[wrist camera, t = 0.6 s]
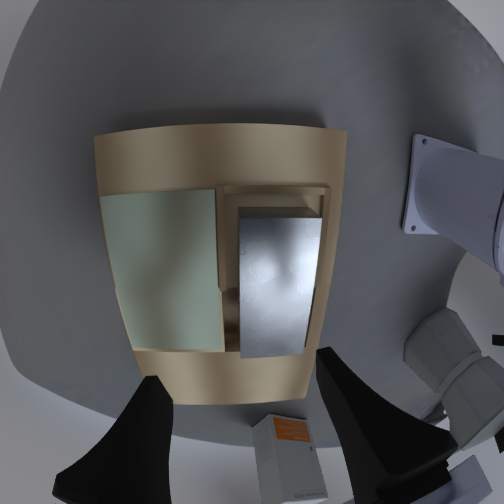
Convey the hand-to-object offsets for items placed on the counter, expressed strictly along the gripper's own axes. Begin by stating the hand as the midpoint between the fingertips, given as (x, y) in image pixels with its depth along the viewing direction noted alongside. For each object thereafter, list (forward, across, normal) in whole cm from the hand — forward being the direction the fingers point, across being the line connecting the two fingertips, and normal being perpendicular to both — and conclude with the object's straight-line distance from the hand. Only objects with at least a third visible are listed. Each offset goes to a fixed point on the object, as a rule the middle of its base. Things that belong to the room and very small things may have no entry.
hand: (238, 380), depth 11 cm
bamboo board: (+9, +1, 0) cm, 9 cm away
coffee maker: (+10, -21, +13) cm, 27 cm away
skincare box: (+10, -1, +22) cm, 24 cm away
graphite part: (+6, -2, -1) cm, 7 cm away
